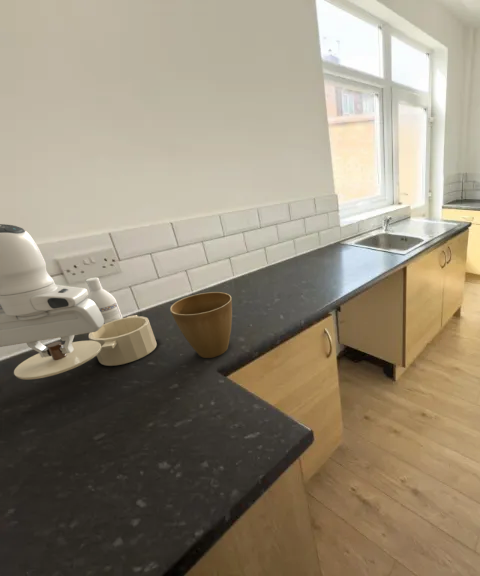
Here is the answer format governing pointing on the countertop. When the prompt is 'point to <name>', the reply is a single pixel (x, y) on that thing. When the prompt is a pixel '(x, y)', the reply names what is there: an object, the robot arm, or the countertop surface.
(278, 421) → the countertop surface
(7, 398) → the countertop surface
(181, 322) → the plant pot
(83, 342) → the lid
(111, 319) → the bath foam
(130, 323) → the pot
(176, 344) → the countertop surface
